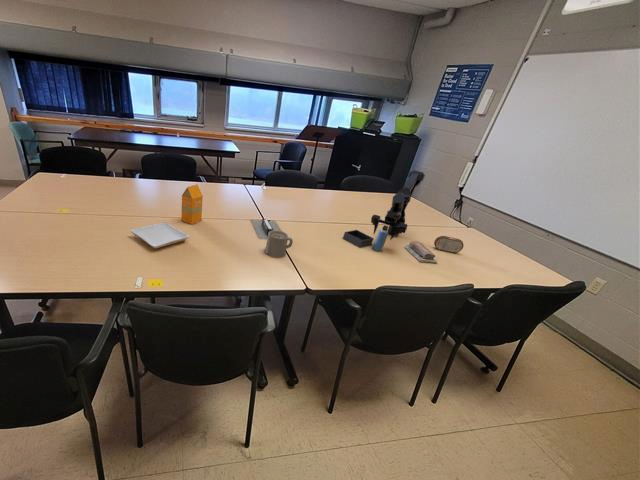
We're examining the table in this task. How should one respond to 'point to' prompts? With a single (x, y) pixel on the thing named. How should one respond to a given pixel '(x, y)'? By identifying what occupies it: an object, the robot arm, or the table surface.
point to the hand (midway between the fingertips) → (382, 236)
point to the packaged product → (420, 252)
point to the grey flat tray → (264, 227)
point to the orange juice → (192, 204)
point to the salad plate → (160, 234)
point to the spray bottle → (381, 239)
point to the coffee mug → (277, 243)
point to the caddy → (358, 238)
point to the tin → (448, 244)
